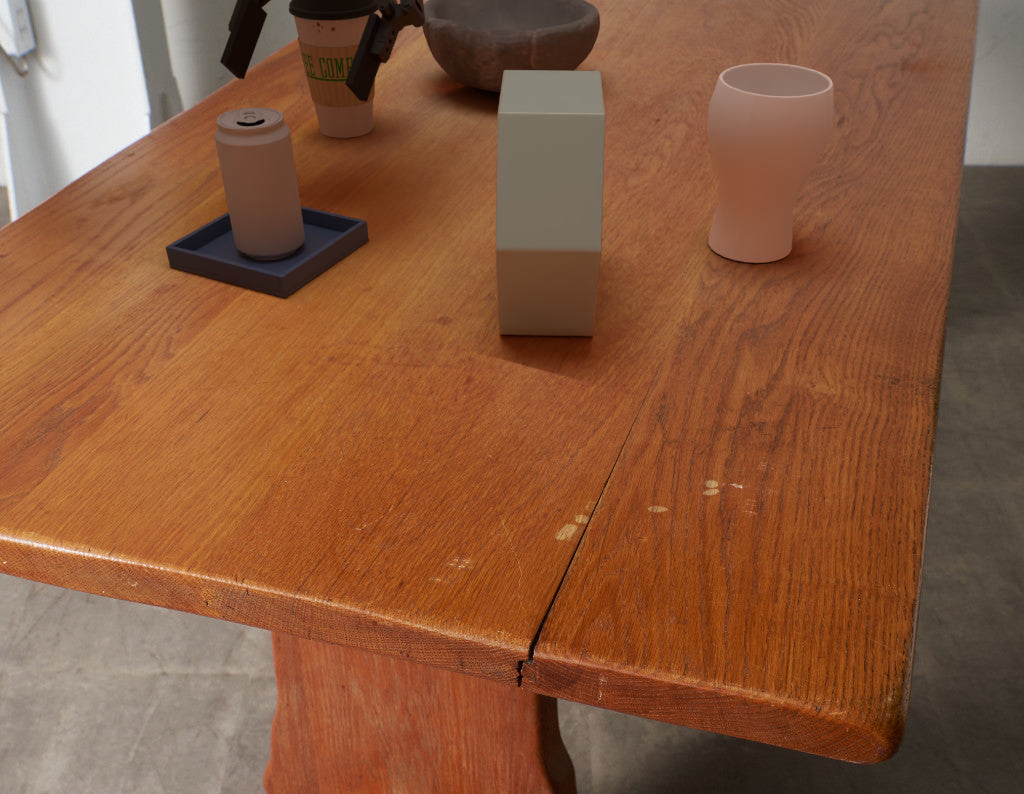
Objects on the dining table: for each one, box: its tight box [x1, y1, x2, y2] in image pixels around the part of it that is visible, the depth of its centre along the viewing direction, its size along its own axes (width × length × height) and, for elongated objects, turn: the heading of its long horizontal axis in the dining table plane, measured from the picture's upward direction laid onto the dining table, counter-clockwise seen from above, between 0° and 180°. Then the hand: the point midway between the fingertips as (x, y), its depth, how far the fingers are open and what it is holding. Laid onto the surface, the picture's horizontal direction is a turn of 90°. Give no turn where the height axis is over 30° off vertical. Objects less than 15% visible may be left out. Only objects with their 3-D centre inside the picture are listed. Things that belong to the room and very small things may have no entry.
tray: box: [165, 205, 370, 299], centre depth 93 cm, size 13×13×2 cm
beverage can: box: [214, 106, 305, 260], centre depth 90 cm, size 6×6×12 cm
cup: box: [706, 62, 835, 264], centre depth 90 cm, size 11×11×15 cm
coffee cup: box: [288, 0, 379, 139], centre depth 115 cm, size 10×10×15 cm
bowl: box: [421, 0, 601, 93], centre depth 128 cm, size 23×22×10 cm
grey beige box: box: [494, 70, 606, 337], centre depth 81 cm, size 17×8×21 cm
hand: (292, 82), depth 89 cm, fingers open, 13 cm apart
